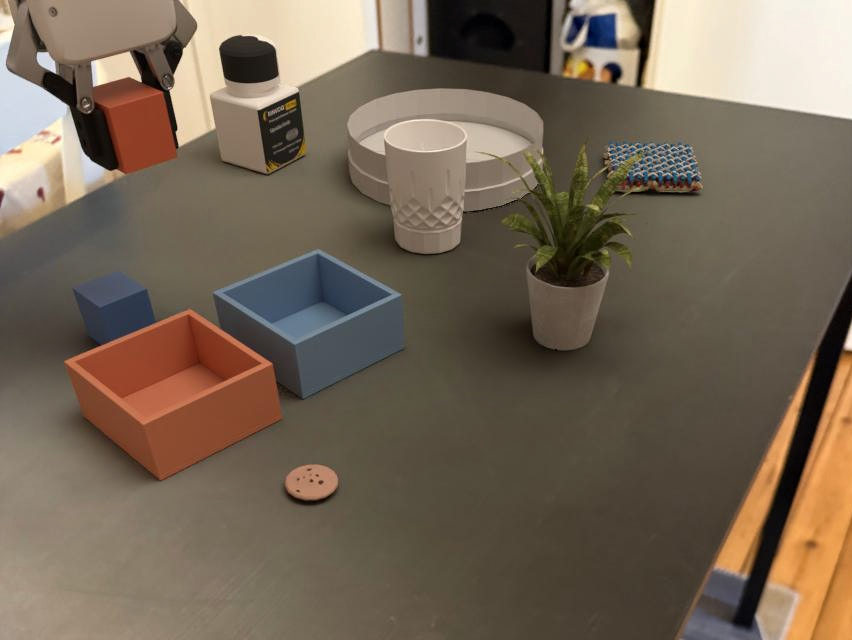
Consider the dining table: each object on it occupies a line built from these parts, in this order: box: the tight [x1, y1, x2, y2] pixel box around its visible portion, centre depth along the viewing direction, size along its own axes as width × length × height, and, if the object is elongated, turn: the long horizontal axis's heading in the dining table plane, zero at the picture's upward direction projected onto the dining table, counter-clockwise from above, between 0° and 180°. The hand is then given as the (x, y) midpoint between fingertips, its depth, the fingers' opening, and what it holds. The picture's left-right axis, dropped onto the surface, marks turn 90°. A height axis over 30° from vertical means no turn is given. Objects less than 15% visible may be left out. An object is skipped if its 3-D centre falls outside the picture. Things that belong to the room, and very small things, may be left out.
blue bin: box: [212, 248, 406, 400], centre depth 78 cm, size 11×11×5 cm
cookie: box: [284, 464, 339, 501], centre depth 67 cm, size 4×4×1 cm
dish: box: [346, 88, 544, 211], centre depth 103 cm, size 22×22×5 cm
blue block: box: [72, 270, 157, 346], centre depth 79 cm, size 4×4×4 cm
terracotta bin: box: [63, 308, 283, 481], centre depth 71 cm, size 11×11×5 cm
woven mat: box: [602, 140, 704, 192], centre depth 104 cm, size 10×11×2 cm
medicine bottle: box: [209, 33, 307, 175], centre depth 102 cm, size 7×7×12 cm
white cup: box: [383, 119, 467, 255], centre depth 90 cm, size 8×8×10 cm
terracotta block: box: [93, 76, 179, 175], centre depth 68 cm, size 4×4×4 cm
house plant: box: [474, 135, 650, 351], centre depth 76 cm, size 14×14×16 cm
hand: (134, 152), depth 69 cm, fingers closed on terracotta block, 4 cm apart
